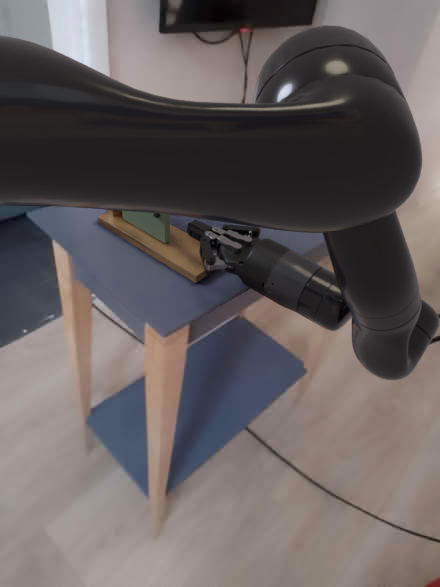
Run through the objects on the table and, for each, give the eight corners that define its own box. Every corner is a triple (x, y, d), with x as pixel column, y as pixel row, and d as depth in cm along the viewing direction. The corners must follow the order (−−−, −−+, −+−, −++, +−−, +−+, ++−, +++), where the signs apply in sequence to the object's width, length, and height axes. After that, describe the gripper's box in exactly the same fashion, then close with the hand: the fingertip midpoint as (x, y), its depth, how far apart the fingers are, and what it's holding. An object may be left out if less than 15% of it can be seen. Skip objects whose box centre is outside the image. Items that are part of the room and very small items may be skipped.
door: (162, 245, 67) (161, 161, 57) (119, 220, 72) (112, 138, 62) (170, 240, 68) (170, 158, 58) (127, 216, 73) (121, 136, 63)
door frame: (195, 283, 63) (203, 170, 50) (98, 223, 74) (84, 117, 61) (226, 262, 68) (240, 154, 55) (131, 209, 79) (124, 108, 66)
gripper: (311, 234, 56) (219, 191, 64) (259, 275, 48) (160, 220, 55) (300, 275, 61) (215, 231, 69) (251, 318, 53) (160, 262, 60)
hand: (190, 226), depth 62 cm, fingers closed
